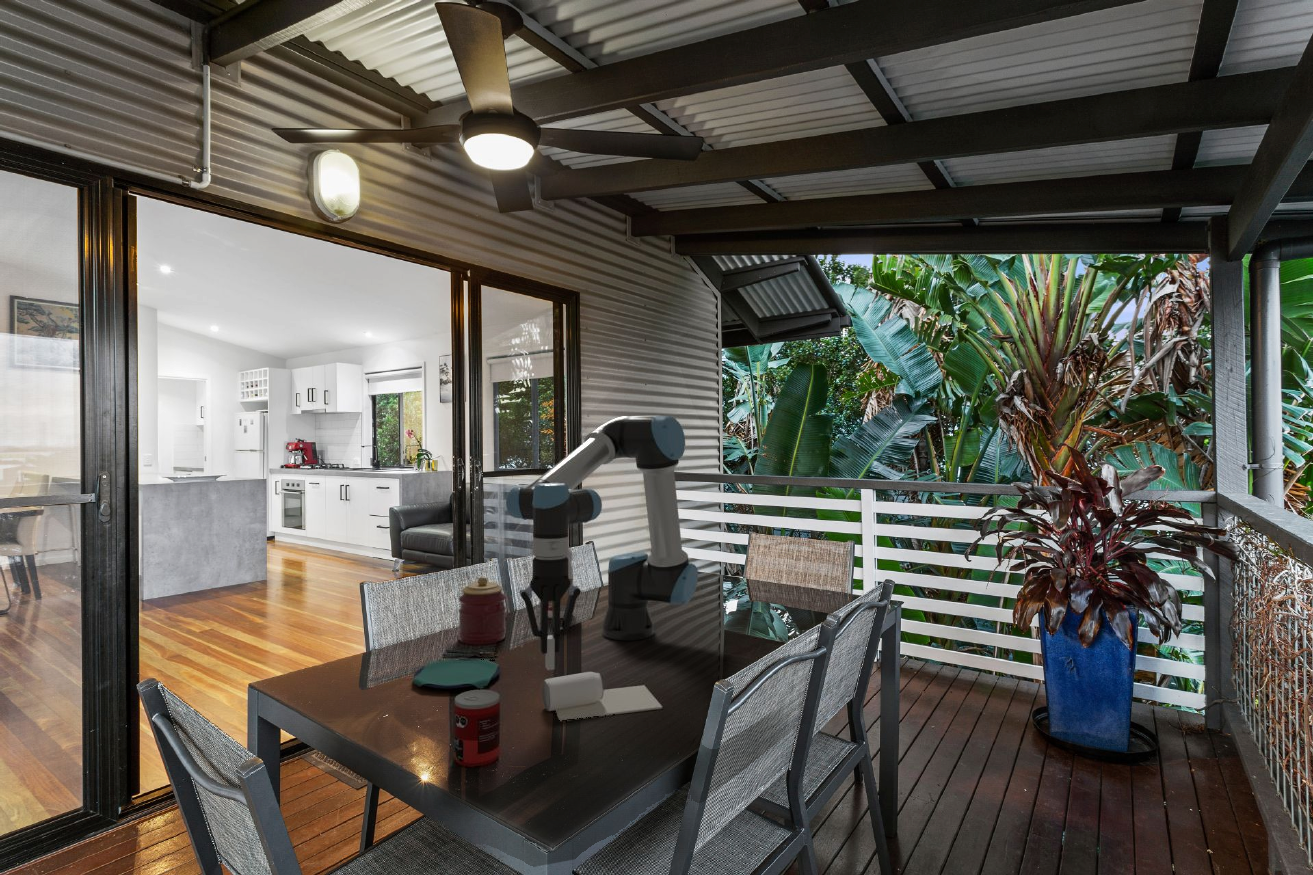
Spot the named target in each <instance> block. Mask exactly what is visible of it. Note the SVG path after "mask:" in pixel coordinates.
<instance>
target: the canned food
mask: <svg viewBox="0 0 1313 875" xmlns="http://www.w3.org/2000/svg"><path fill="white" fill-rule="evenodd" d="M453 705H454V706H453V707H454V708H453V710H454V711H453V712H454V714H453V715H454V716H453V717H454V718H453V722H454V724H453V725H454V726H453V727H454V730H453V733H454V734H453V736H454V738H453V739H454V741H453V745H454V747H453V748H454V749H453V752H454V753H453V756H454V759H455V761H456V763H457V764H458V765H460V766H463V767H465V766H467V768H476V767H475V766H481V767H484V765H485V766H488V765H490V764H493V762H495V761H496V760H497V759H498V758H499V755H500V747H501V745H500V743H501V742H500V741H501V739H500V738H501V735H500V733H501V728H500V727H501V724H500V723H501V722H500V721H501V698H500V694H499V693H498V692H497V691H495V690H489V689H480V690H479V689H473V690H468V691H464V692H461V693H460V694H457V695H456V696H455V698H454V704H453ZM487 764H488V765H487Z"/></svg>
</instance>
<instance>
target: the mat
mask: <svg viewBox="0 0 1313 875" xmlns="http://www.w3.org/2000/svg"><path fill="white" fill-rule="evenodd" d="M661 709H663V706H662V704H661V703H660V702H659V701H658V700H657V699H656V697H655V696H654V695H653V694H652V693H651V692H650V689H648V687H646V686H645V684H643V685H636V686H634V685H633V686H627V687H617V688H609V689H604V694H603V698H602V699H599V700H598V701H596V702H594V703H590V704H585V705H580V706H575V707H569V708H564V709H559V710H554V712H555V711H556V712H555V714H556V713H557V714H556V716H557V718H558V720H560V721H559V722H563V721H562V720H567V719H575V720H580V719H579V718H583V719H589V718H588V717H591V718H594V717H593V716H599V717H606V716H612V715H613V714H615V715H621V714H628V713H636V712H637V713H638V712H646V711H652V710H653V711H654V710H661ZM605 715H606V716H605ZM586 717H587V718H586ZM577 718H578V719H577ZM567 721H568V720H567Z"/></svg>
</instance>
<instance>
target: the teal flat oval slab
mask: <svg viewBox="0 0 1313 875" xmlns="http://www.w3.org/2000/svg"><path fill="white" fill-rule="evenodd" d="M490 651H491V650H488V651H486V649H484V648H482V649H480V648H478V649H476V650H473V649H472V650H465V649H464V650H463V649H462V650H461V649H451V648H446V649H445V652H442V655H441V656H442V657H457V658H458V659H459V660H454V659H452V658H445V659H446V660H437V661H434V662H433V661H432V662H428V663H426V665H425V666H422V667H421V668H419V669H417V671H415V672H414V675H413V683H414V685H416V684H417V685H416V686H418V687H419V688H422V687H424V686H425V687H429V688H435V689H446V690H448V689H451V690H452V689H462V688H468V687H474V686H475V687H476V688H477V689H478V688H481V687H484V686H486V687H487V686H488V684H489V683H490V681H491V680H493V679H495V678H496V677H498V676H499V675H500V672H501V668H500V667H499V666H500V664H498V663H496V662H494V661H489V660H490V659H491V660H492V659H493V658H495V657H494V656H493V655H492V657H493V658H479V657H481V656H479V657H478V658H468V657H471V656H474V655H476V656H477V655H478V654H479V653H478V652H483V653H482V654H494V653H485V652H490ZM446 652H476V653H478V654H469V653H446ZM444 655H446V656H444ZM450 655H451V656H450ZM452 655H454V656H452ZM463 655H464V656H463ZM498 656H499V654H498V655H497V656H496V657H498ZM481 659H482V660H481ZM483 659H484V660H483ZM422 685H423V686H422ZM421 686H422V687H421ZM484 688H485V687H484Z"/></svg>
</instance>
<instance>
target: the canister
mask: <svg viewBox="0 0 1313 875" xmlns="http://www.w3.org/2000/svg"><path fill="white" fill-rule="evenodd" d="M503 589H504V588H503V586H501V585H500V584H498V583H497V582H492V581H488V578H487V577H485V576H480V577H479V578H478V579H477V582H472V583H469V584H467V585H466V586H465V587H464V588H462V589H461V591H462V595H461V596H459V597H458V601H459V602H460V608H459V609H458V613H459V619H458V620H459V623H458V624H459V626H458V627H459V630H458V638H459V641H460V642H461V643H462V644H465V643H466V645H474V646H475V645H476V646H479V645H480V646H481V645H483V646H484V645H491V644H494V643H497V642H498V641H499V642H500V641H503V640H504V639H505V636H506V633H507V632H506V630H507V629H506V609H507V607H506V605H505V599H506V598H507V595H506V594H504V593H503V592H502V591H503ZM499 642H498V643H499Z"/></svg>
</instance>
